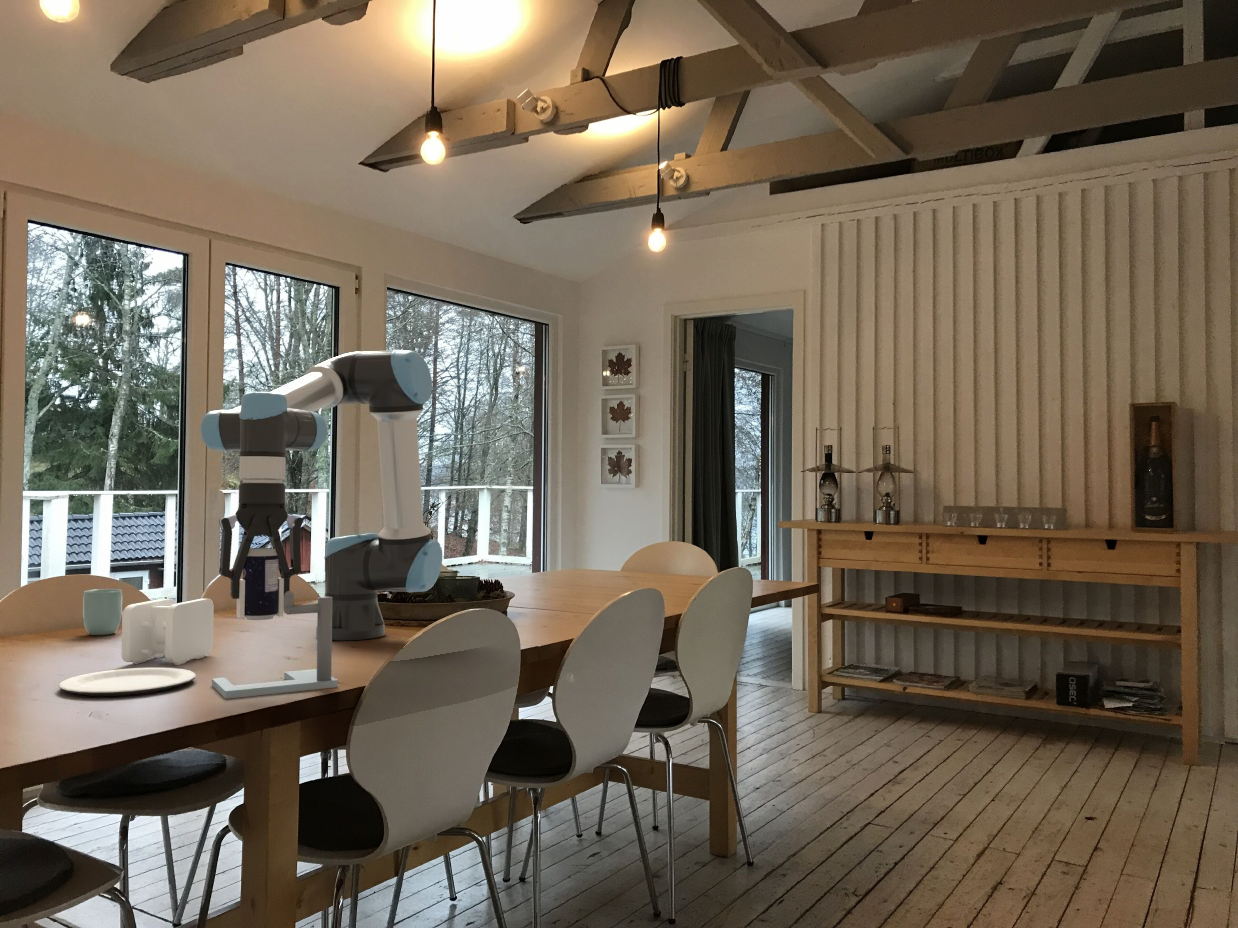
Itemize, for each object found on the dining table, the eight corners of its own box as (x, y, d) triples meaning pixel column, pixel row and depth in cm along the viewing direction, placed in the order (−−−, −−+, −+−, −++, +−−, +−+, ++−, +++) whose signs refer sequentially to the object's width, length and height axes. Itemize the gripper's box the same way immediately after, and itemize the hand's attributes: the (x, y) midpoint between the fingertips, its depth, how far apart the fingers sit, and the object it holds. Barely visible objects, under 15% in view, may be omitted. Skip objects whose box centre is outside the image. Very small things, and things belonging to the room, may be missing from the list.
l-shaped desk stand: (318, 675, 175) (319, 583, 175) (337, 686, 165) (338, 589, 165) (211, 685, 165) (213, 588, 166) (225, 698, 155) (227, 594, 155)
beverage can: (268, 615, 170) (269, 547, 170) (283, 618, 166) (284, 548, 166) (236, 618, 166) (238, 548, 166) (250, 621, 162) (252, 549, 162)
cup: (109, 636, 218) (110, 592, 218) (75, 636, 218) (76, 592, 218) (127, 631, 226) (128, 588, 226) (94, 631, 226) (95, 588, 226)
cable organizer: (170, 668, 181) (171, 606, 181) (117, 666, 182) (119, 605, 182) (214, 655, 196) (215, 597, 196) (165, 653, 197) (166, 596, 197)
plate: (103, 675, 175) (103, 666, 175) (216, 676, 175) (216, 667, 175) (29, 700, 155) (30, 689, 155) (158, 702, 154) (158, 691, 154)
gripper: (311, 482, 175) (309, 611, 174) (200, 481, 165) (197, 617, 164) (322, 482, 169) (320, 615, 168) (208, 481, 159) (205, 622, 158)
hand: (259, 616), depth 166 cm, fingers closed on beverage can, 6 cm apart
